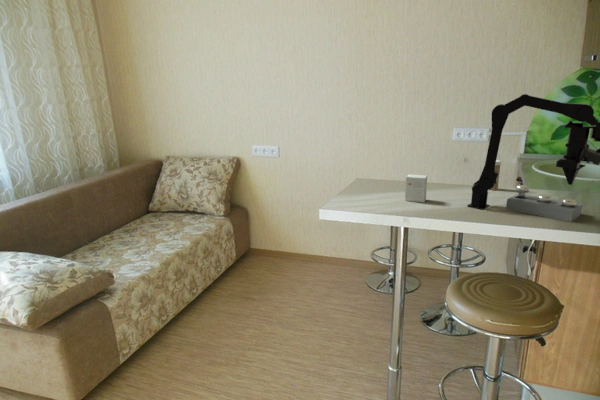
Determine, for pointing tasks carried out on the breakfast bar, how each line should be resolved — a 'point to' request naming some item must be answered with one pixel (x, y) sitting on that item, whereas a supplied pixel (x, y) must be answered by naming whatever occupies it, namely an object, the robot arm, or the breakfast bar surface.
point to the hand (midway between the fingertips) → (570, 184)
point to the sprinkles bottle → (497, 167)
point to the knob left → (522, 191)
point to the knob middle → (544, 198)
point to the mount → (544, 208)
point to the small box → (416, 188)
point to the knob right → (568, 203)
